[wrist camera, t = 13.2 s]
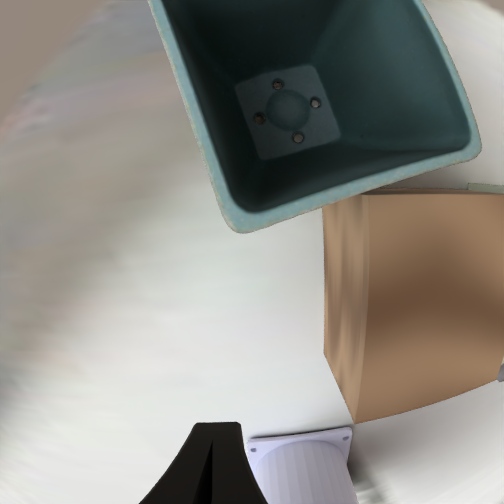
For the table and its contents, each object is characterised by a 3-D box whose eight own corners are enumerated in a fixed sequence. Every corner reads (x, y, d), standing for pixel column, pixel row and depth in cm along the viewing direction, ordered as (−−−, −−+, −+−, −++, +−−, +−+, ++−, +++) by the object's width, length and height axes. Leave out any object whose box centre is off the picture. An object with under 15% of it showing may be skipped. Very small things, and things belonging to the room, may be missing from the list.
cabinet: (441, 332, 19) (496, 379, 12) (323, 353, 19) (354, 424, 12) (451, 188, 17) (526, 196, 10) (321, 190, 17) (368, 195, 10)
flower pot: (330, 29, 15) (385, -59, 6) (383, 164, 16) (488, 155, 8) (187, 67, 15) (140, -20, 6) (238, 211, 17) (231, 241, 8)
